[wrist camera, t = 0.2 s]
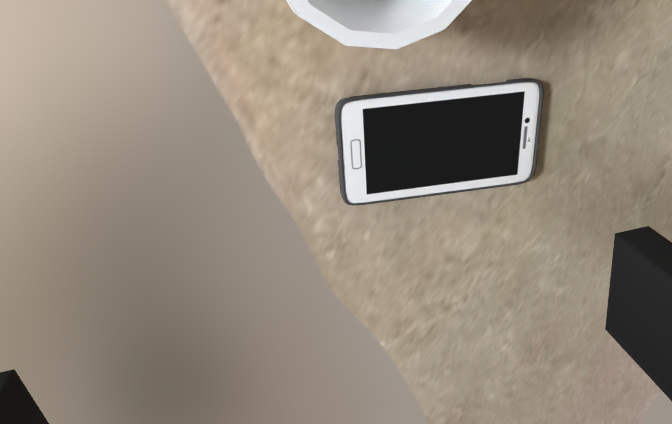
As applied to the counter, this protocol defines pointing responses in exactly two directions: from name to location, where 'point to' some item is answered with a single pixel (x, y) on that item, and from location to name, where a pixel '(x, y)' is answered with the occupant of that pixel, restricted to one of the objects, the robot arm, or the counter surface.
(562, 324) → the counter surface
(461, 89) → the cell phone
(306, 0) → the foam cup
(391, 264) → the counter surface
